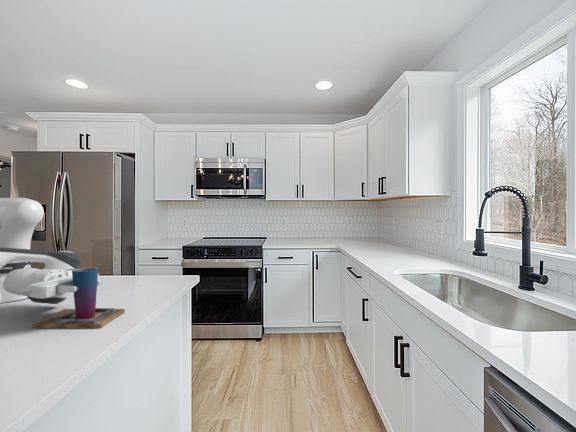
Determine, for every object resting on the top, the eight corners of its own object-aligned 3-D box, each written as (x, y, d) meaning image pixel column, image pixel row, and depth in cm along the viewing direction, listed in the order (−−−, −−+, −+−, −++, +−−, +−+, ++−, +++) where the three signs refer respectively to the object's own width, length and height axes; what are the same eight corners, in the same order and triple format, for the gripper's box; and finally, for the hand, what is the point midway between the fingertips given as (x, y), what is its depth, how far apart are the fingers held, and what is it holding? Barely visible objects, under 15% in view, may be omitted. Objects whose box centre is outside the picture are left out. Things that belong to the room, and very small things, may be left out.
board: (31, 328, 91) (31, 320, 91) (64, 312, 105) (64, 306, 105) (101, 328, 92) (101, 320, 92) (124, 312, 106) (124, 306, 106)
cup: (95, 312, 102) (95, 266, 102) (100, 317, 97) (100, 269, 97) (70, 317, 97) (69, 269, 97) (74, 322, 92) (74, 272, 92)
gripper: (16, 280, 90) (56, 283, 87) (78, 267, 110) (112, 269, 107) (17, 302, 90) (56, 305, 87) (78, 285, 110) (112, 288, 107)
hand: (87, 285), depth 97 cm, fingers open, 7 cm apart
